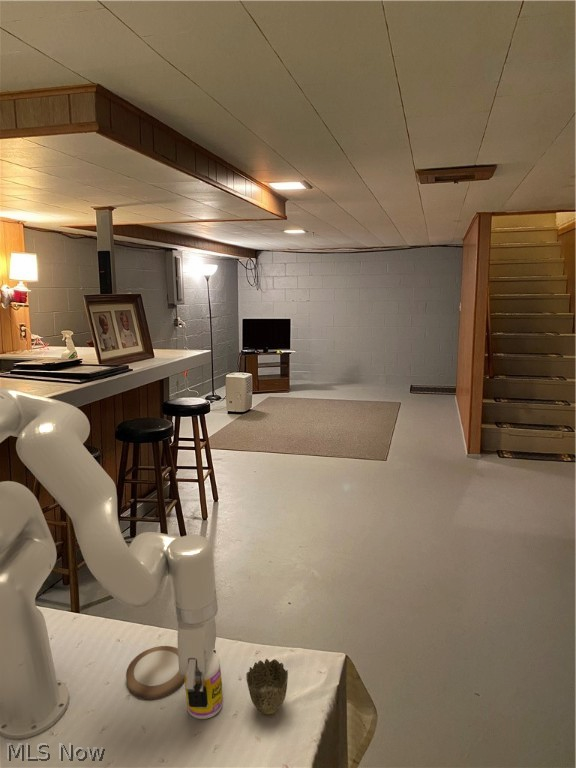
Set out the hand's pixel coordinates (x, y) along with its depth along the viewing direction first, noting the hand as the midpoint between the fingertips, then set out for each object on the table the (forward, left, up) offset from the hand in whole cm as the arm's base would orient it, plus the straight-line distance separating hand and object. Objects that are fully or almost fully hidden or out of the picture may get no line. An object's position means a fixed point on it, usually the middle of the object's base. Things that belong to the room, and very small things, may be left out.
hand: (203, 685), depth 102 cm
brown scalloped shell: (+12, -1, -5) cm, 13 cm away
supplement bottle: (0, 0, -5) cm, 5 cm away
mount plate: (-11, +7, -5) cm, 14 cm away
